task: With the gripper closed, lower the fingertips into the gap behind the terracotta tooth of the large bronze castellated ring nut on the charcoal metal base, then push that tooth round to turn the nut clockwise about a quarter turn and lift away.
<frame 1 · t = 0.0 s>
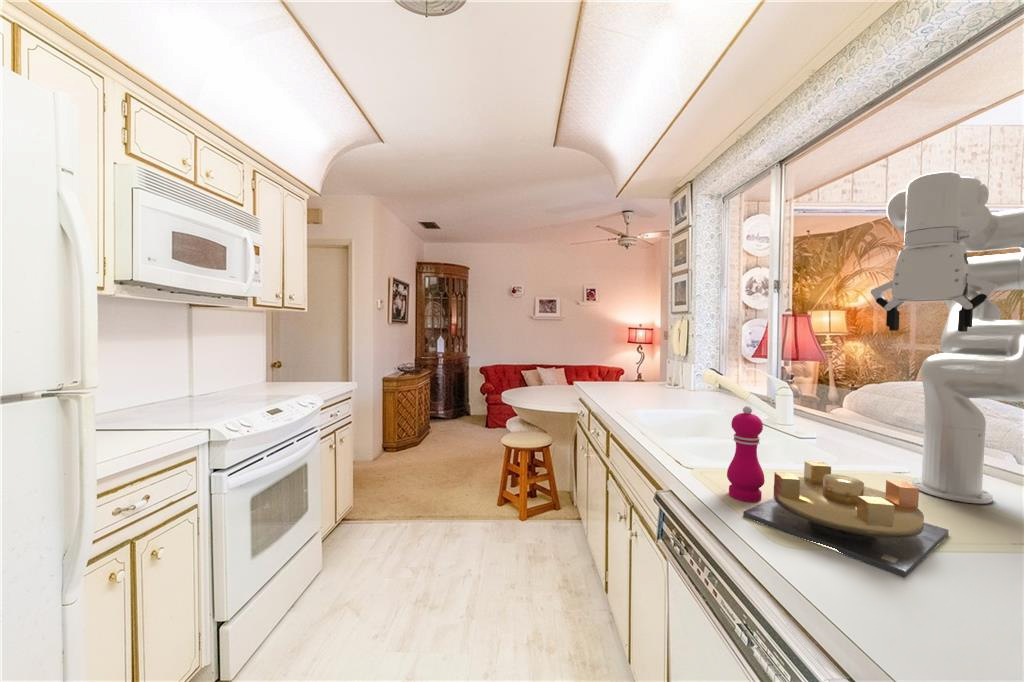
hand: (926, 331, 81), 37 cm above the worktop, tool pointing down, fingers open, 9 cm apart
pepper mill: (744, 497, 93), on the worktop
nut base: (841, 525, 80), on the worktop
ring nut: (842, 494, 80), point 6 cm above the worktop, hinge at 0.0°
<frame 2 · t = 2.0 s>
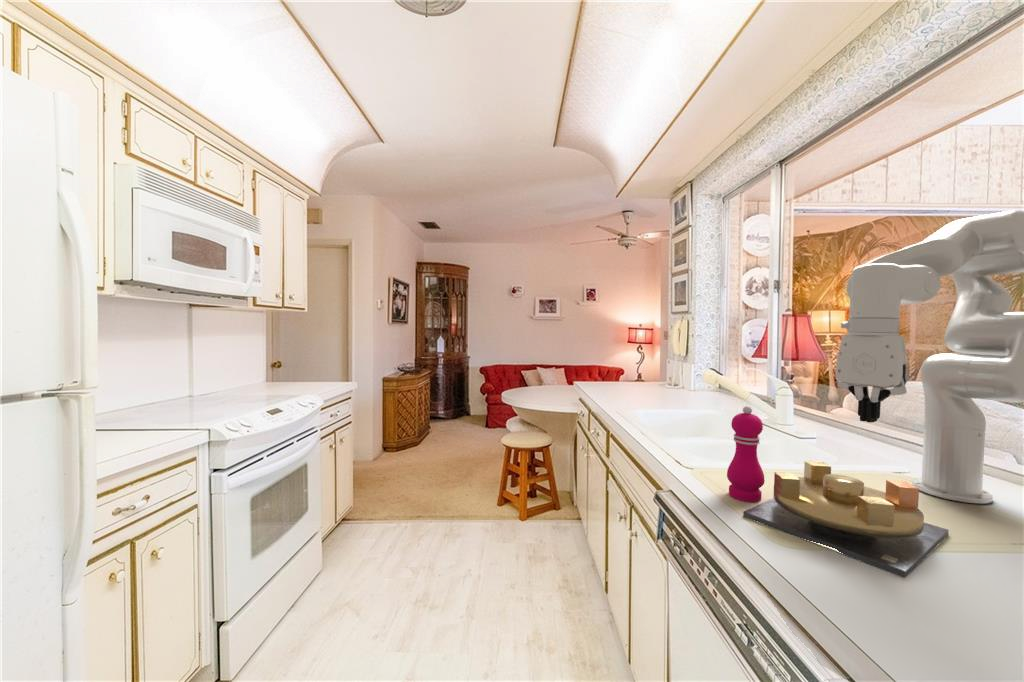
hand: (868, 421, 83), 19 cm above the worktop, tool pointing down, fingers closed
nothing on the worktop moved.
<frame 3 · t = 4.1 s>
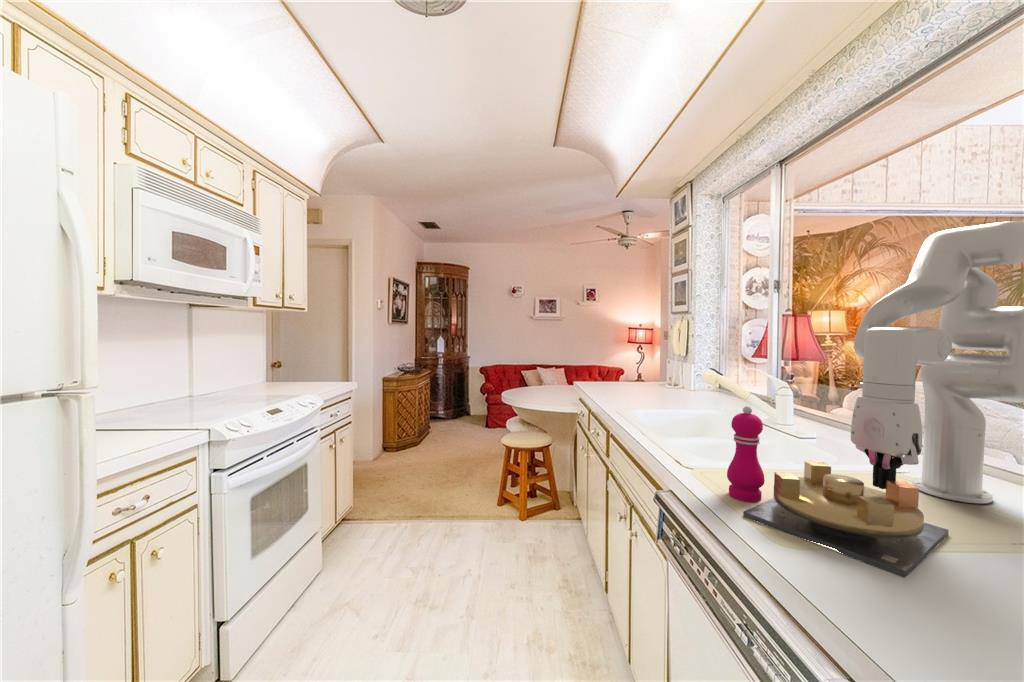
hand: (883, 487, 81), 7 cm above the worktop, tool pointing down, fingers closed
ring nut: (842, 494, 80), point 6 cm above the worktop, hinge at 0.0°, touching gripper
everything else where it was.
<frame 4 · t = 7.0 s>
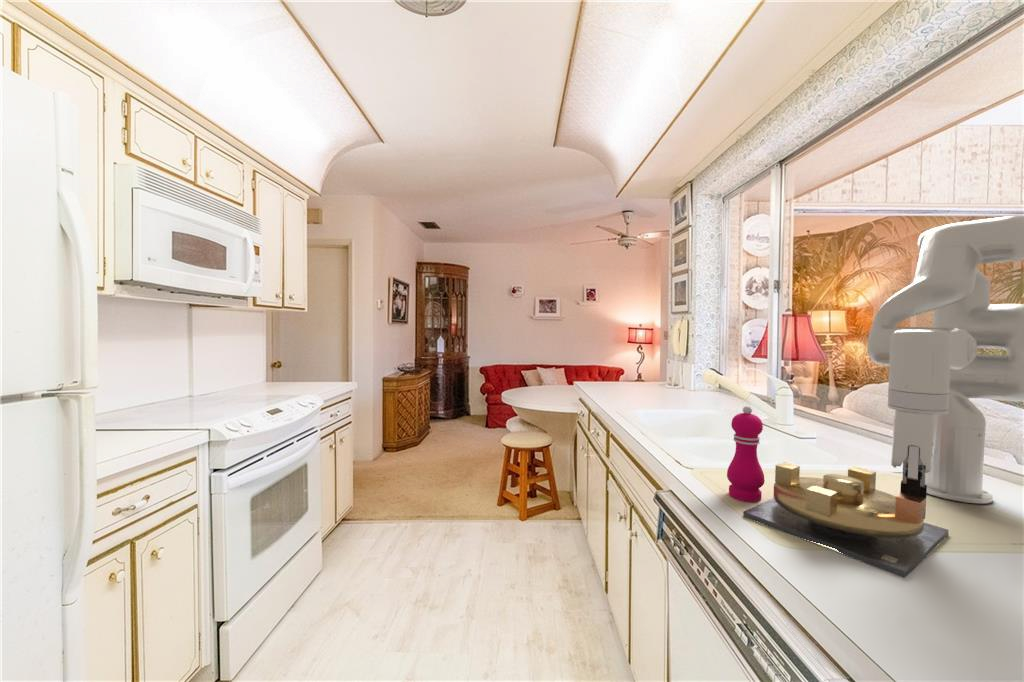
hand: (912, 506, 73), 6 cm above the worktop, tool pointing down, fingers closed
ring nut: (842, 494, 80), point 6 cm above the worktop, hinge at 44.5°, touching gripper
everything else where it was.
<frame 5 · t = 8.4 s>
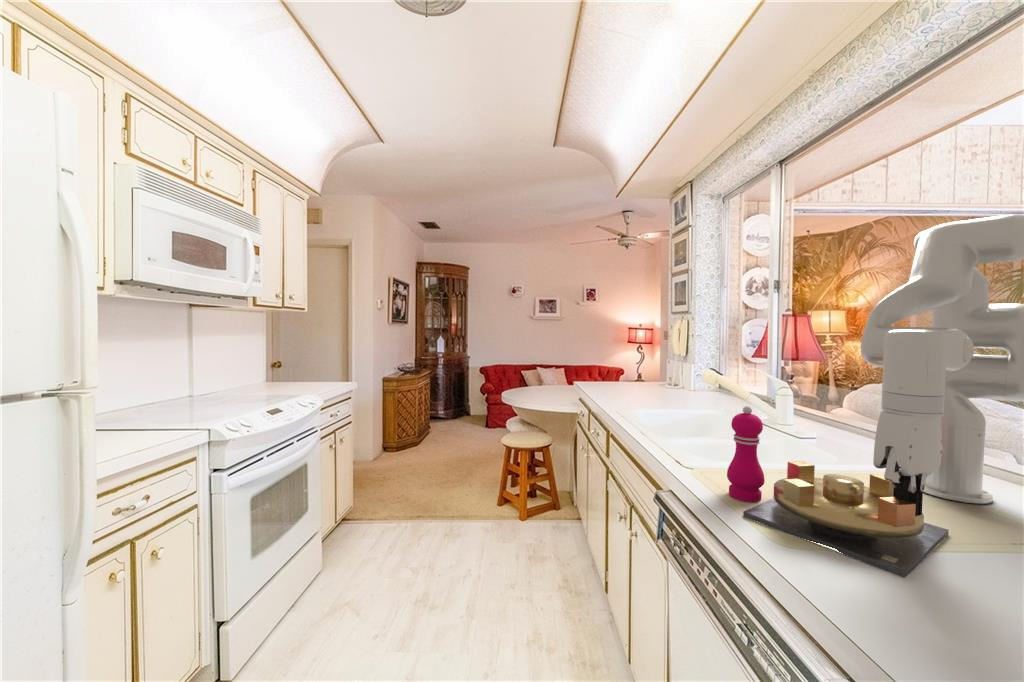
hand: (907, 512, 71), 6 cm above the worktop, tool pointing down, fingers closed
ring nut: (842, 494, 80), point 6 cm above the worktop, hinge at 69.2°, touching gripper
everything else where it was.
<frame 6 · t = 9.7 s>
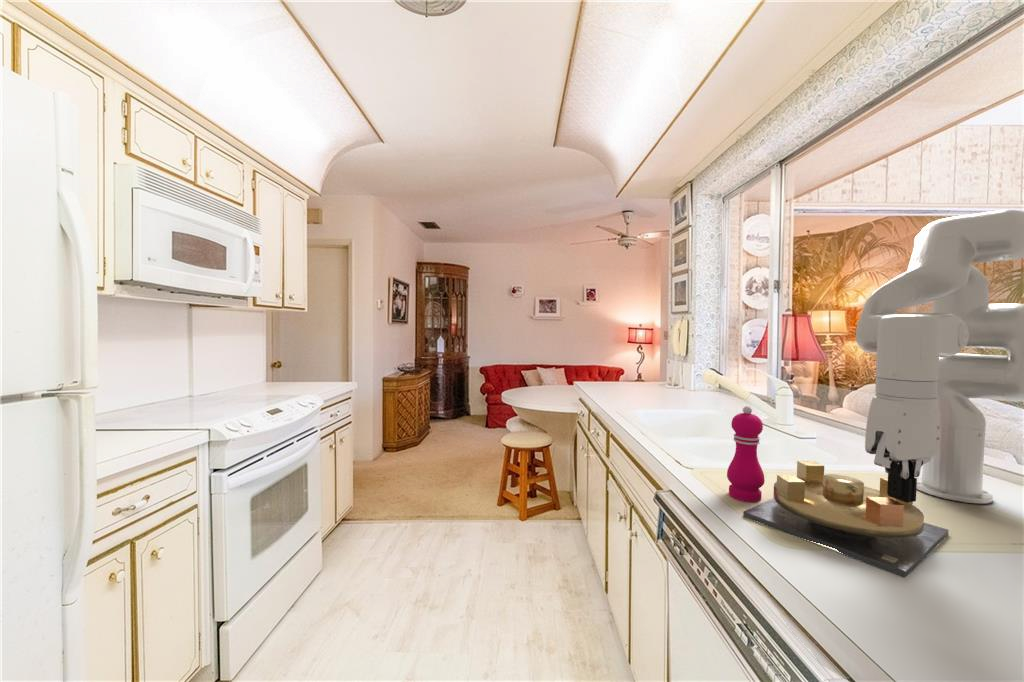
hand: (901, 498, 70), 9 cm above the worktop, tool pointing down, fingers closed
ring nut: (842, 494, 80), point 6 cm above the worktop, hinge at 81.7°
everything else where it was.
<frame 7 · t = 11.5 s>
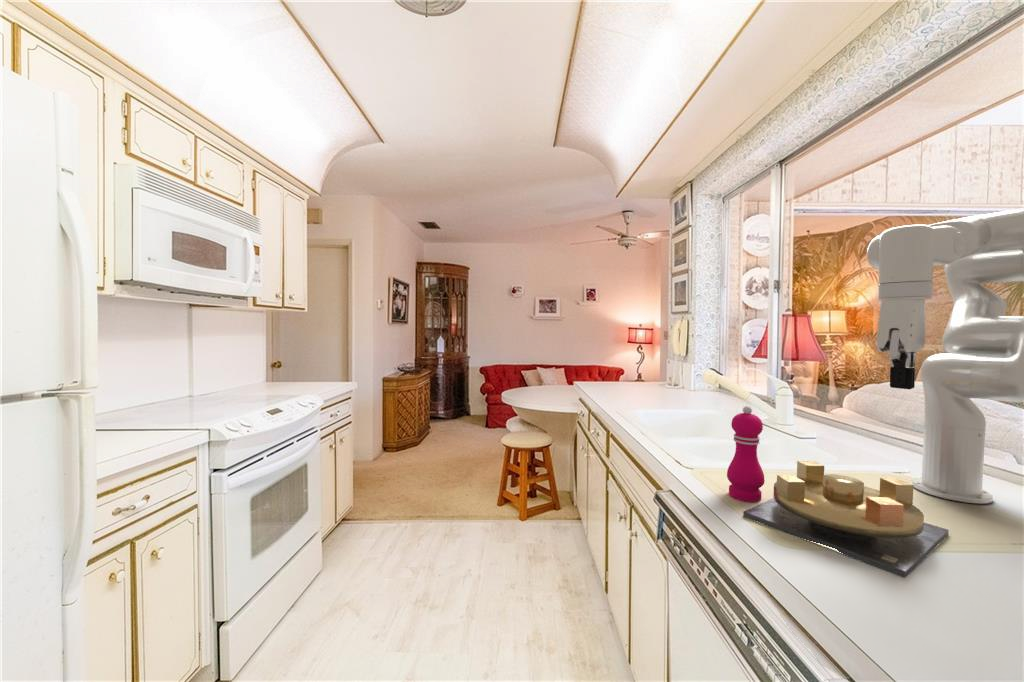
hand: (901, 387, 82), 26 cm above the worktop, tool pointing down, fingers closed
nothing on the worktop moved.
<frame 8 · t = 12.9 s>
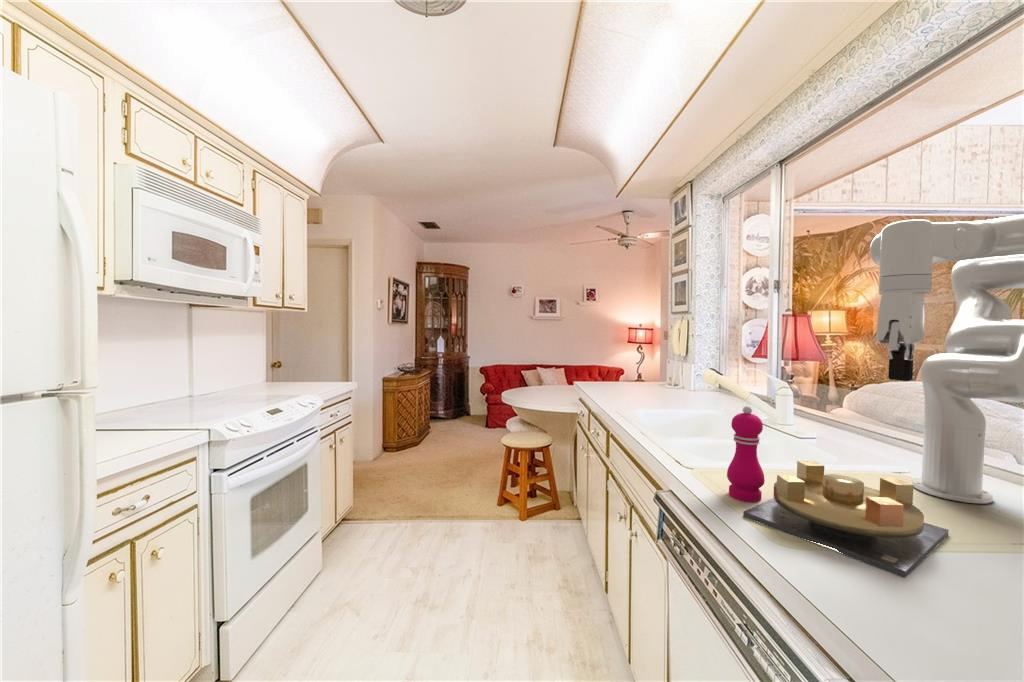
hand: (900, 379, 83), 27 cm above the worktop, tool pointing down, fingers closed
nothing on the worktop moved.
at the end: ring nut at +82° (first picture: +0°); pepper mill moved 0.2 cm from its start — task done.
